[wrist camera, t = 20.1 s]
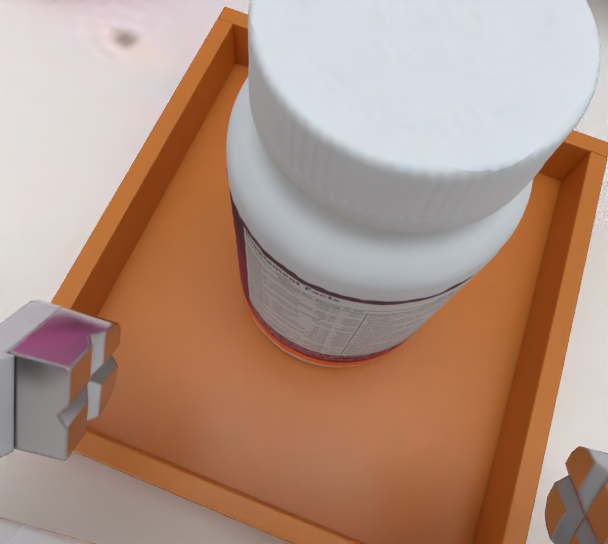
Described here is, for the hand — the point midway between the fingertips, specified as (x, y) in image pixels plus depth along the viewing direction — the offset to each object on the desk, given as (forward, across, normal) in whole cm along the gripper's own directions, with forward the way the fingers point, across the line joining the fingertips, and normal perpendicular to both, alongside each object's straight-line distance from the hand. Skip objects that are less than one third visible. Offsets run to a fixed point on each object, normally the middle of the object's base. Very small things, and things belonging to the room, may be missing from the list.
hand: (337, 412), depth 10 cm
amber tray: (+9, 0, +2) cm, 9 cm away
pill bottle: (+9, 0, +2) cm, 9 cm away
